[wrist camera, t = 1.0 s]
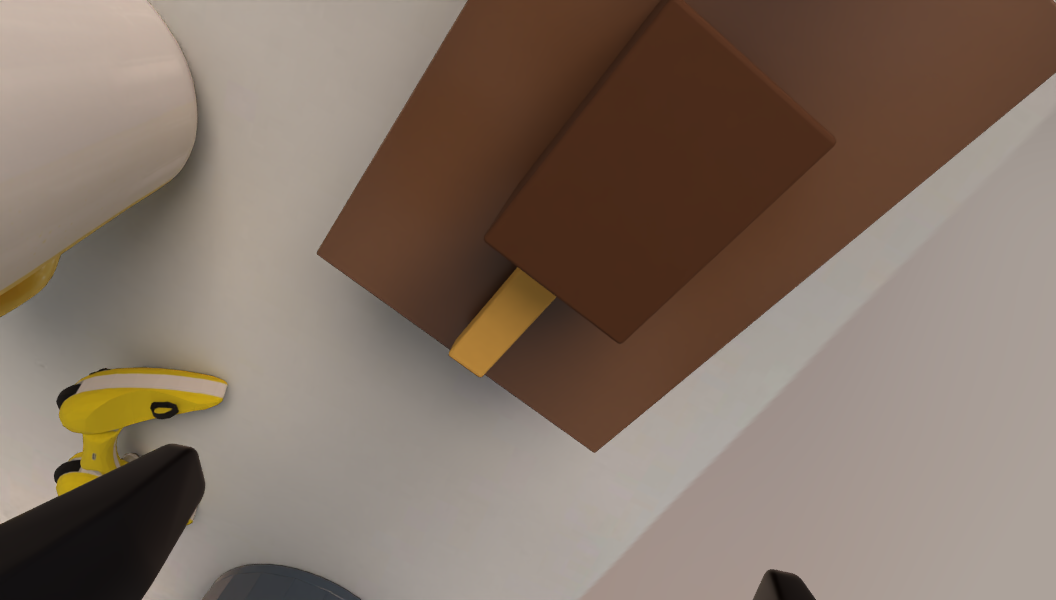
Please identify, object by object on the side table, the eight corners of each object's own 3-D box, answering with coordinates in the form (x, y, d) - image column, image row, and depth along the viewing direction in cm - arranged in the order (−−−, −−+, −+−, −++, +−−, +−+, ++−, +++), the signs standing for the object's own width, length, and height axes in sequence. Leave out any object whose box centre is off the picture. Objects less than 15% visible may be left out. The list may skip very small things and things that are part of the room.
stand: (924, 19, 16) (1094, 42, 10) (609, 324, 22) (594, 454, 16) (674, -226, 14) (693, -378, 8) (413, 174, 21) (315, 254, 15)
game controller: (79, 328, 26) (41, 385, 23) (236, 358, 28) (218, 413, 25) (72, 467, 31) (39, 527, 28) (205, 482, 33) (187, 539, 30)
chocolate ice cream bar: (795, 105, 11) (841, 142, 8) (525, 377, 15) (500, 459, 13) (668, -10, 10) (674, -8, 8) (425, 304, 15) (376, 374, 12)
